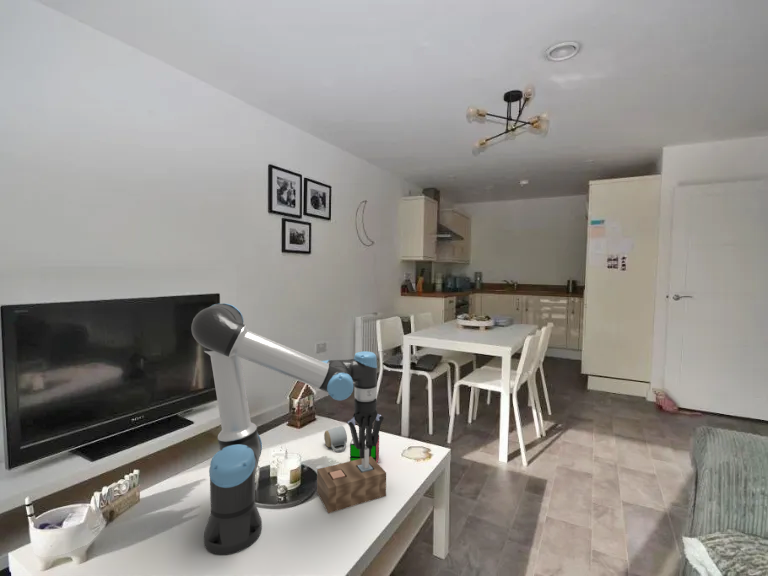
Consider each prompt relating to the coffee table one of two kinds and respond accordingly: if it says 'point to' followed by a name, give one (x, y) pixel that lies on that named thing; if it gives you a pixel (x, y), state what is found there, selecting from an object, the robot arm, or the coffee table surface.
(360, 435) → the robot arm
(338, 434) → the ceramic mug
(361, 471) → the slate peg
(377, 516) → the coffee table surface
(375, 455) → the puzzle cube
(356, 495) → the walnut block
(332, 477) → the terracotta peg
